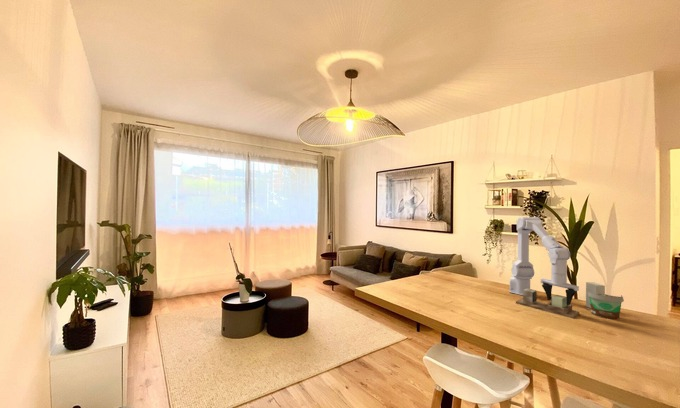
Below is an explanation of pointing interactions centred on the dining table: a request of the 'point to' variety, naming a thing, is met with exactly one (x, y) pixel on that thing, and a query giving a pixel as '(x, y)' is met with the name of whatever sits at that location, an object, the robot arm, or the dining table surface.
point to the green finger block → (559, 301)
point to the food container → (605, 305)
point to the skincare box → (593, 290)
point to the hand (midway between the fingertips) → (558, 302)
